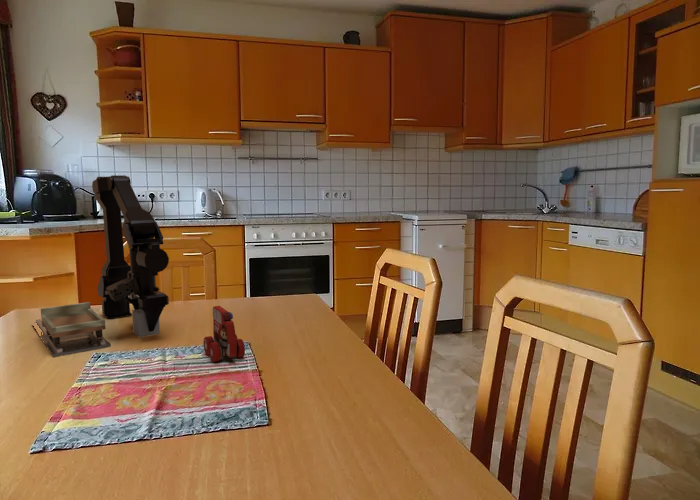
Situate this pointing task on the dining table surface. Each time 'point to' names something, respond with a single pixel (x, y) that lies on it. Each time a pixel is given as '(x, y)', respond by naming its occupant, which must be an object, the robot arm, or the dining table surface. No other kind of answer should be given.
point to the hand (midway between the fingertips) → (146, 328)
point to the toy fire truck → (223, 337)
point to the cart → (71, 321)
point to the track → (73, 342)
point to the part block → (142, 324)
